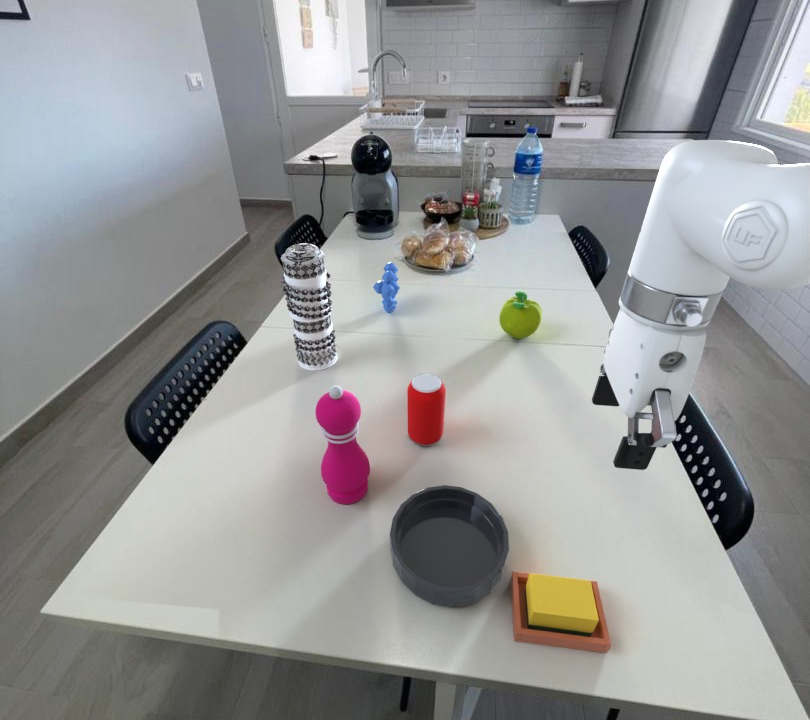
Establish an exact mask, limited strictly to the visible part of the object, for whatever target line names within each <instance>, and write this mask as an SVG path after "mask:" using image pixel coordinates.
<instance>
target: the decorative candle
mask: <svg viewBox="0 0 810 720" xmlns="http://www.w3.org/2000/svg"><path fill="white" fill-rule="evenodd" d="M325 257H326V253H325V252H324V251H323V250H322V249H320V248H319V247H318V246H316V245H315V244H313V243H304V242H303V243H297V244H293V245H290V246H289V247H288V248H286V249H285V252H284V253H283V254H282V255H281V257H280V260H281V262H282V268H283V271H284V272H283V275H282V277H281V279H282V280H281V282H280V283H281V285H283V288H282V290H283V292H284V295H285V298H284V299H285V301H286V307H287V310H288V311H289V316H290V318H291V319H292V321H293V328H292V329H293V334H292V337H293V339H294V341H293V342H294V344H295V348H294V349H295V352H296V358H297V363H298V365H299V366H300V367H301V368H302V369H304V370H308V371H313V372H314V371H315V372H316V371H323V370H326V369H329V368H331V367H332V366H334V365H335V364H336V362H337V361H338V354H337V352H338V350H337V343H336V340H335V339H336V336H335V333H336V330H335V328H334V327H333V321H332V319H331V313H332V311H333V307H332V304H333V300H332V299H331V298H330V297H331V296H332V290H331V288H332V287H331V286H332V284H331V283H330V282H329V281H328V279H331V274H330V273H329V272H328V271H327V268H326V267H325V260H324V258H325ZM326 279H327V280H326Z"/></svg>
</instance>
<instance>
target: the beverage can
mask: <svg viewBox="0 0 810 720" xmlns="http://www.w3.org/2000/svg"><path fill="white" fill-rule="evenodd" d="M406 391H407V392H406V395H407V396H406V397H407V399H406V400H407V408H406V409H407V411H406V412H407V434H408V435H407V436H408V437H409V439H410V440H411V442H413V443H414V444H416V445H419V446H423V447H429V446H433V445H436V444H437V443H438V442H440V441H441V439H442V437H443V436H444V423H445V410H446V409H445V408H446V393H447V392H446V387H445V384H444V382H443V381H442V380H441V378H440V377H439V376H437V375H435V374H432V373H421V374H420V373H419V374H417V375H415V376H414V377H413V378H412V379H411V380H410V382H409V383H408V386H407V389H406Z"/></svg>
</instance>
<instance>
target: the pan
mask: <svg viewBox="0 0 810 720" xmlns="http://www.w3.org/2000/svg"><path fill="white" fill-rule="evenodd" d="M389 531H390V532H389V544H390V545H389V547H390V548H389V549H390V555H391V561H392V562H391V563H392V566H393V568H394V570H395V572H396V574H397V576H398V578H399V579H400V582H401V583H402V584H403V585H405V586H406V588H407V589H408V590H410V591H411V592H412V594H413V595H415V596H416V597H418V598H421V599H422V600H424V601H426V602H428V603H430V604H432V605H437V606H445V607H452V608H453V607H454V608H455V607H460V606H461V607H462V606H467V605H472V604H475V603H476V602H478V601H480V600H482V599H483V598H485V597H486V596H488V595H490V594H491V593H492V591H493V590H494V589H495V588H496V586H497V585H498V584H499V583H500V581H501V580H502V577H503V575H504V571H505V568H506V565H507V561H508V557H509V553H510V540H509V538H510V537H509V536H510V535H509V531H508V528H507V526H506V523H505V521H504V518H503V516H502V514H500V512H499V511H498V510H497V509H496V507H495V506H494V505H493V504H492V503H491V502H490V501H489V500H488V499H486V498H485V497H484V496H482V495H481V494H479V493H477V492H475V491H472V490H469V489H467V488H464V487H462V486H455V485H446V484H444V485H437V486H429V487H425V488H423V489H422V490H419V491H417V492H415V493H412V494H411V495H410V496H408V498H406V499H405V500H404V502H402V503H401V504H400V505H399V507H398V508H397V510H396V512H395V514H394V516H393V517H392V521H391V527H390V530H389Z"/></svg>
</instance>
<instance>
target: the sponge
mask: <svg viewBox="0 0 810 720" xmlns="http://www.w3.org/2000/svg"><path fill="white" fill-rule="evenodd" d="M591 581H592V580H589V579H580V578H573V577H565V576H557V575H548V574H540V573H532V572H529V577H528V580H527V584H526V587H525V602H526V613H527V625H528V629H535V630H542V631H550V632H557V633H565V634H572V635H579V636H587V637H591V635H592V633H593V631H594V629H595V627H596V625H597V623H598V621H599V619H598V614H597V609H596V604H595V600H594V595H593V590H592V585H591Z"/></svg>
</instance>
